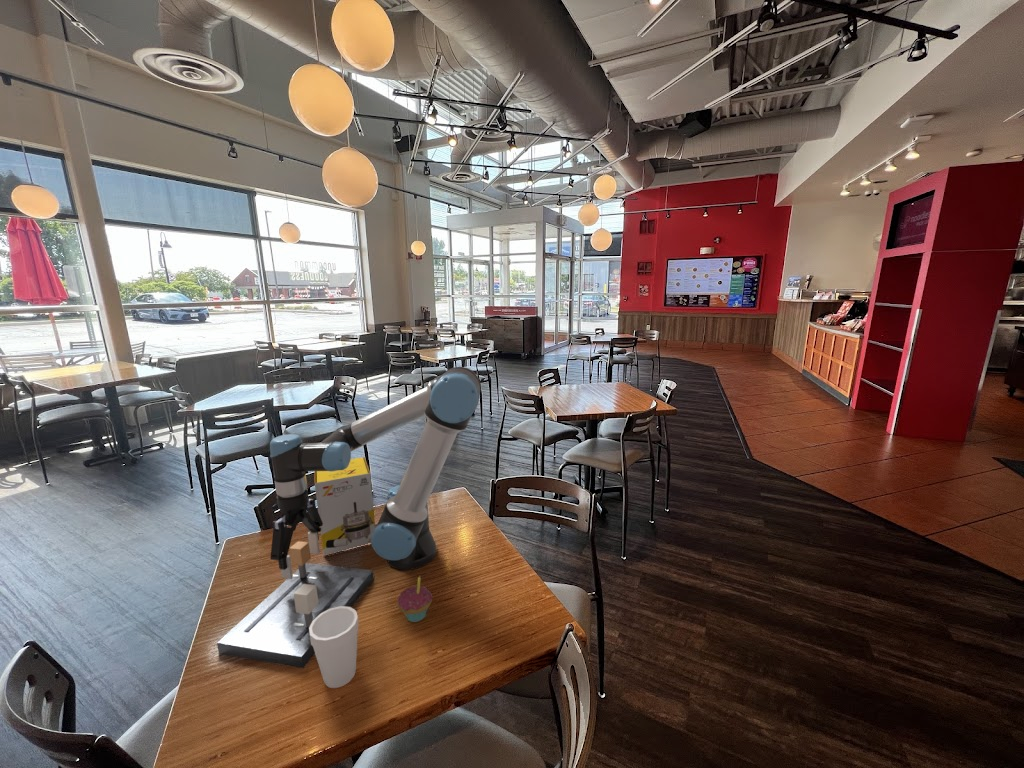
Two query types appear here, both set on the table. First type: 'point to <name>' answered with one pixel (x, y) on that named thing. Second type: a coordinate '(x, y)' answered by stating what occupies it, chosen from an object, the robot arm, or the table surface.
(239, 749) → the table surface
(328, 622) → the foam cup
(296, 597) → the fader cream
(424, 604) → the cupcake
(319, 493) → the packaging box
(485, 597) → the table surface
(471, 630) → the table surface
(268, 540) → the table surface
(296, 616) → the fader console
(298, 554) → the fader orange
